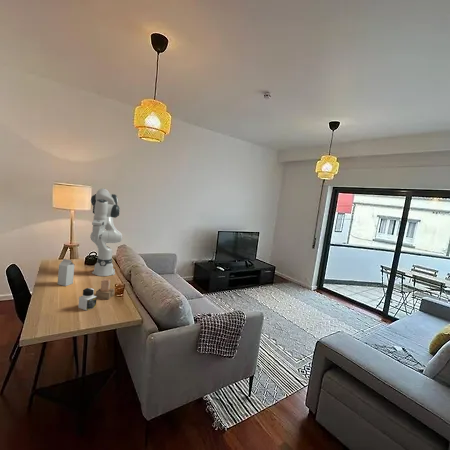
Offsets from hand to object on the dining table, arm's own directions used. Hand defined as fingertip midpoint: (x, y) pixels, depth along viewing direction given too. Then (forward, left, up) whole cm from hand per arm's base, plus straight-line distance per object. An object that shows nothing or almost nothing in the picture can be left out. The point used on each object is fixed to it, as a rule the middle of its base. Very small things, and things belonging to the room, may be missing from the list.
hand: (98, 240), depth 188 cm
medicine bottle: (+31, +4, -37) cm, 49 cm away
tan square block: (+12, +10, -38) cm, 41 cm away
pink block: (+12, +10, -32) cm, 36 cm away
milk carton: (-8, -22, -37) cm, 44 cm away
